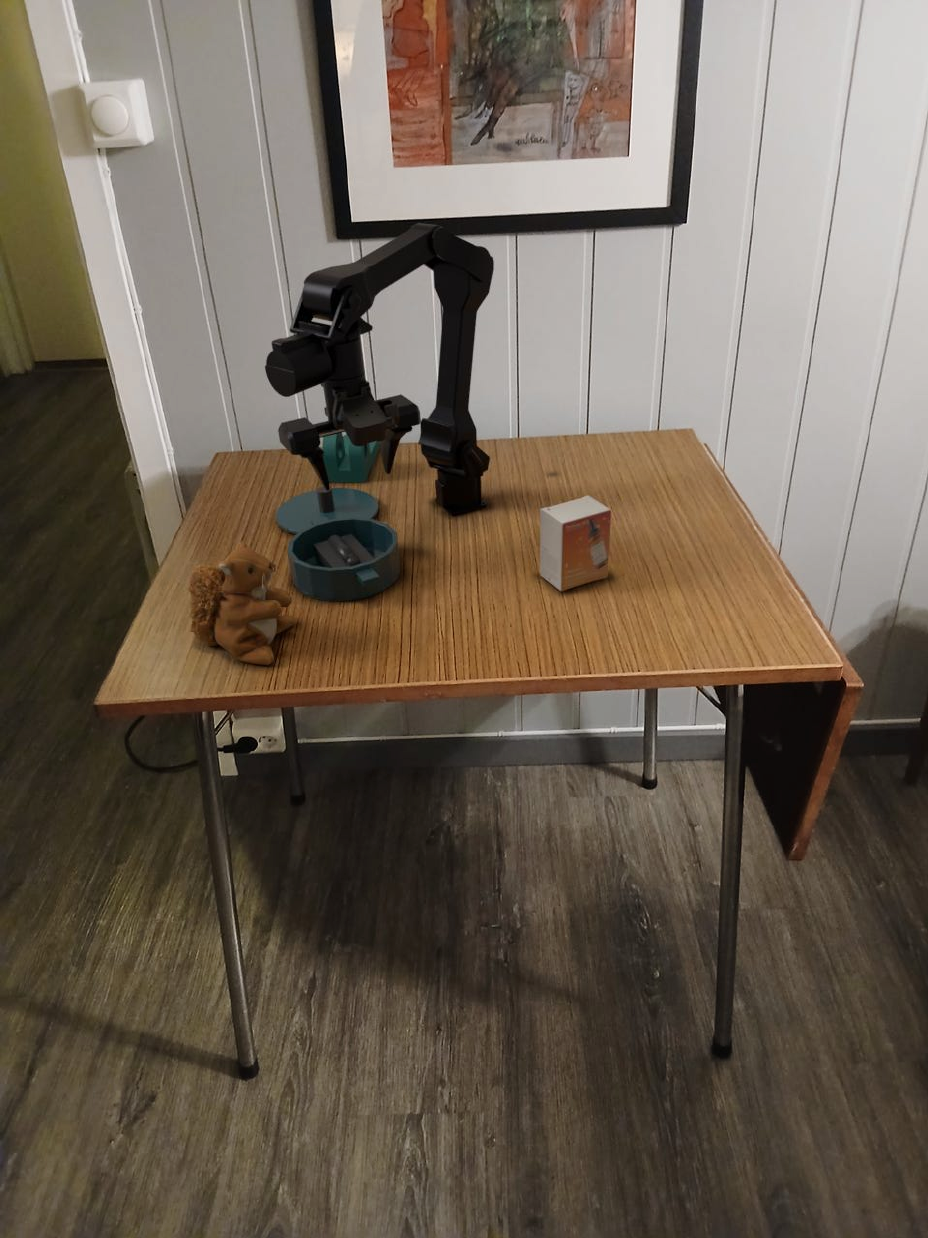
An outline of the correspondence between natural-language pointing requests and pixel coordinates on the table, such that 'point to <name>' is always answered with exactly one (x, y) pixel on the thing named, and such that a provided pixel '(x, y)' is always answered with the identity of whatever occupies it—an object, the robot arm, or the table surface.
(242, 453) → the table surface
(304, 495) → the lid
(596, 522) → the small box
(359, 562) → the dark grey block
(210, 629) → the stuffed squirrel
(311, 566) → the pot
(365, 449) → the bracket
